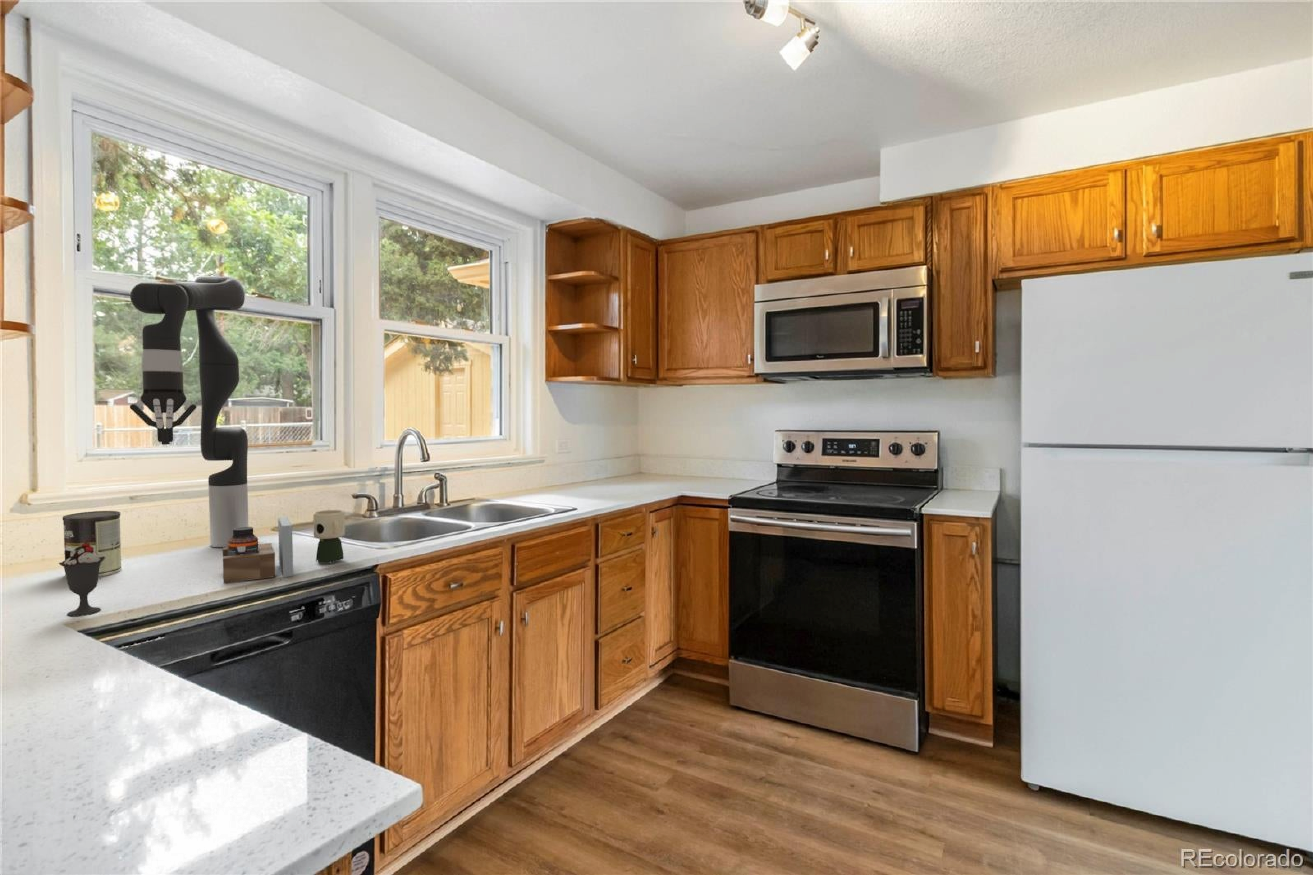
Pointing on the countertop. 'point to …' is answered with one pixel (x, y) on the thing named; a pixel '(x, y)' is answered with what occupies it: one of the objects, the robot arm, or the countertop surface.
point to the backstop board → (285, 546)
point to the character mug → (329, 534)
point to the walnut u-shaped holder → (249, 564)
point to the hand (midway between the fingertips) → (165, 444)
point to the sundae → (82, 575)
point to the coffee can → (96, 536)
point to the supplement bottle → (242, 542)
